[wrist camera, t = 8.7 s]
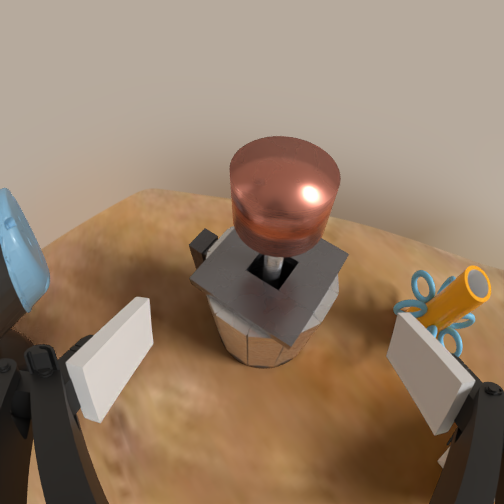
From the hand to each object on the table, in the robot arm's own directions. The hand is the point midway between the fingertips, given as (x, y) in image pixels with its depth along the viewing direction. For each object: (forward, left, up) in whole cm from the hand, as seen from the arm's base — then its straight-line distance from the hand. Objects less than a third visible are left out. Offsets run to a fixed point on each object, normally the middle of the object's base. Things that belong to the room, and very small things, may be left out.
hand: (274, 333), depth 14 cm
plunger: (-4, +6, -18) cm, 19 cm away
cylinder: (+14, +16, -21) cm, 30 cm away
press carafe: (-5, +6, -21) cm, 22 cm away
